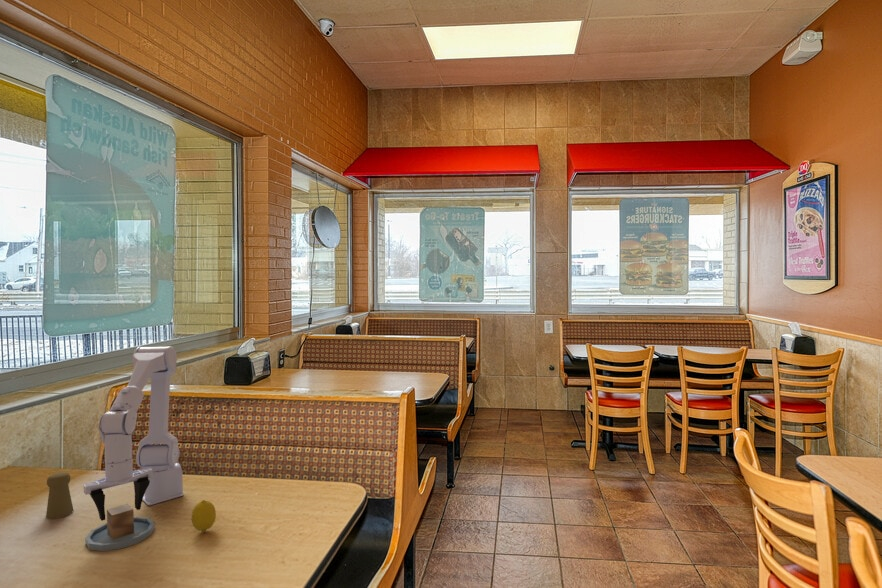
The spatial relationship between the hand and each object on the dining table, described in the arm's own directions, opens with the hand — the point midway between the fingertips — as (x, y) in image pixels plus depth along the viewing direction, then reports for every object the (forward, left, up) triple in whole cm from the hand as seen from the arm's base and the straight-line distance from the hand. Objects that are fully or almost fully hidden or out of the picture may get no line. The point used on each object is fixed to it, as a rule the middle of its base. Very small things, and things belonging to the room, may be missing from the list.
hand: (120, 513), depth 128 cm
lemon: (-15, +13, -6) cm, 21 cm away
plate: (0, 0, -6) cm, 6 cm away
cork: (+8, -26, -6) cm, 28 cm away
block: (0, 0, -5) cm, 5 cm away
